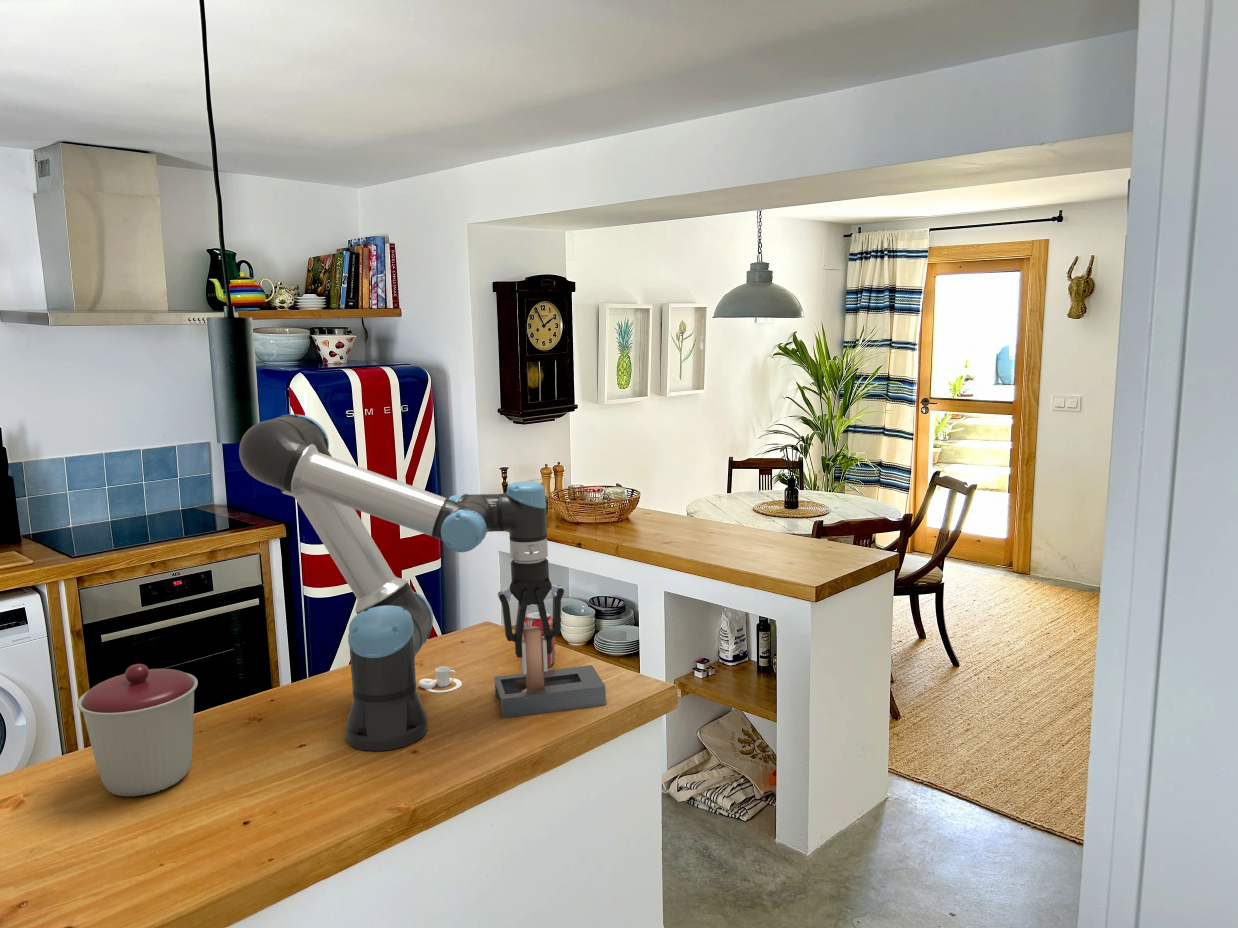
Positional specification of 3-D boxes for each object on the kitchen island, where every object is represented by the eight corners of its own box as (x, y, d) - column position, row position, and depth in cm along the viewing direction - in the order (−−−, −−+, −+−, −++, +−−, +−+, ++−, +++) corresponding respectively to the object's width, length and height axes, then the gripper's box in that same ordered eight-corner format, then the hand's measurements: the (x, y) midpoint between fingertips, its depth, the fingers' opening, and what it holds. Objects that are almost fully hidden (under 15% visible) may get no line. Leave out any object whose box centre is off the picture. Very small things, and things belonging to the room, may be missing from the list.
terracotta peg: (523, 706, 180) (520, 635, 178) (519, 695, 186) (515, 626, 184) (552, 702, 182) (549, 632, 179) (547, 691, 187) (544, 623, 185)
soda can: (520, 662, 206) (518, 612, 204) (549, 656, 209) (547, 607, 207) (530, 672, 200) (528, 620, 198) (560, 666, 203) (558, 615, 201)
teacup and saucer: (414, 692, 191) (413, 673, 191) (432, 678, 199) (431, 660, 198) (450, 696, 189) (449, 677, 188) (468, 681, 196) (467, 664, 196)
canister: (73, 817, 143) (58, 692, 140) (105, 765, 160) (92, 652, 157) (196, 799, 148) (184, 678, 145) (214, 750, 165) (203, 641, 162)
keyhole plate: (502, 718, 176) (501, 698, 176) (495, 694, 188) (494, 676, 187) (605, 704, 182) (605, 685, 181) (592, 682, 193) (591, 664, 192)
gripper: (490, 567, 174) (496, 682, 177) (573, 559, 178) (578, 671, 181) (485, 558, 181) (491, 668, 184) (566, 550, 185) (570, 659, 189)
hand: (534, 670), depth 183 cm, fingers closed on terracotta peg, 3 cm apart
